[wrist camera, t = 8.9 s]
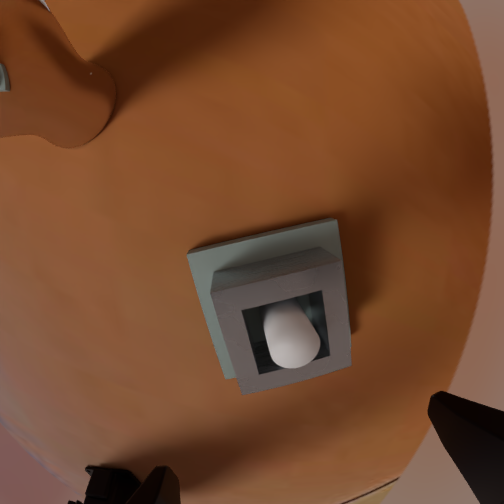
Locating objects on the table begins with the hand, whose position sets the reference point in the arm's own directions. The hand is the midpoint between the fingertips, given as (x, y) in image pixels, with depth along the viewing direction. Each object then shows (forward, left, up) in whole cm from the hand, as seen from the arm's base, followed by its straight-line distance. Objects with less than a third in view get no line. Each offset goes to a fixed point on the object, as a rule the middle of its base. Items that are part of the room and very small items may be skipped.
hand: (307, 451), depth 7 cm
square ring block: (0, -1, -11) cm, 11 cm away
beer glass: (+16, +9, -12) cm, 22 cm away
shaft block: (0, -1, -12) cm, 12 cm away
